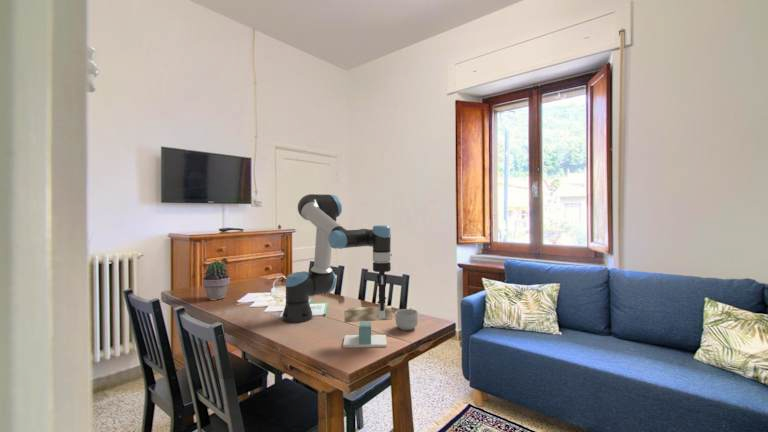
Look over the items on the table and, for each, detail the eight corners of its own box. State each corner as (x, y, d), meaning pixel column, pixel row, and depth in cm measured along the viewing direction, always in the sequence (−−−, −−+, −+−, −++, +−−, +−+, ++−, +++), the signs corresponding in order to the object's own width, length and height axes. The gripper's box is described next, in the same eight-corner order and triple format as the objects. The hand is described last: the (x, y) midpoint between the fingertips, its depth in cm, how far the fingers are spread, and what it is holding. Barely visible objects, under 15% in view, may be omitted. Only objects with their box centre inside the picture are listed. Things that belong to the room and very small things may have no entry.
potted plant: (191, 302, 210) (191, 261, 210) (212, 294, 230) (212, 256, 229) (218, 303, 207) (218, 262, 207) (237, 295, 227) (237, 257, 226)
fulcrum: (343, 347, 143) (343, 330, 143) (345, 337, 154) (345, 321, 154) (386, 346, 143) (386, 330, 143) (385, 337, 154) (385, 321, 154)
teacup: (411, 333, 158) (411, 316, 158) (390, 329, 164) (390, 312, 164) (424, 325, 170) (424, 308, 170) (404, 321, 176) (404, 305, 176)
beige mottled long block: (344, 322, 146) (344, 310, 146) (345, 319, 150) (344, 308, 150) (392, 319, 147) (391, 308, 147) (391, 317, 150) (391, 305, 150)
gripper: (391, 264, 140) (391, 322, 140) (389, 258, 156) (389, 310, 157) (372, 264, 139) (373, 322, 140) (372, 259, 156) (373, 310, 156)
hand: (381, 316), depth 148 cm, fingers closed on beige mottled long block, 3 cm apart
